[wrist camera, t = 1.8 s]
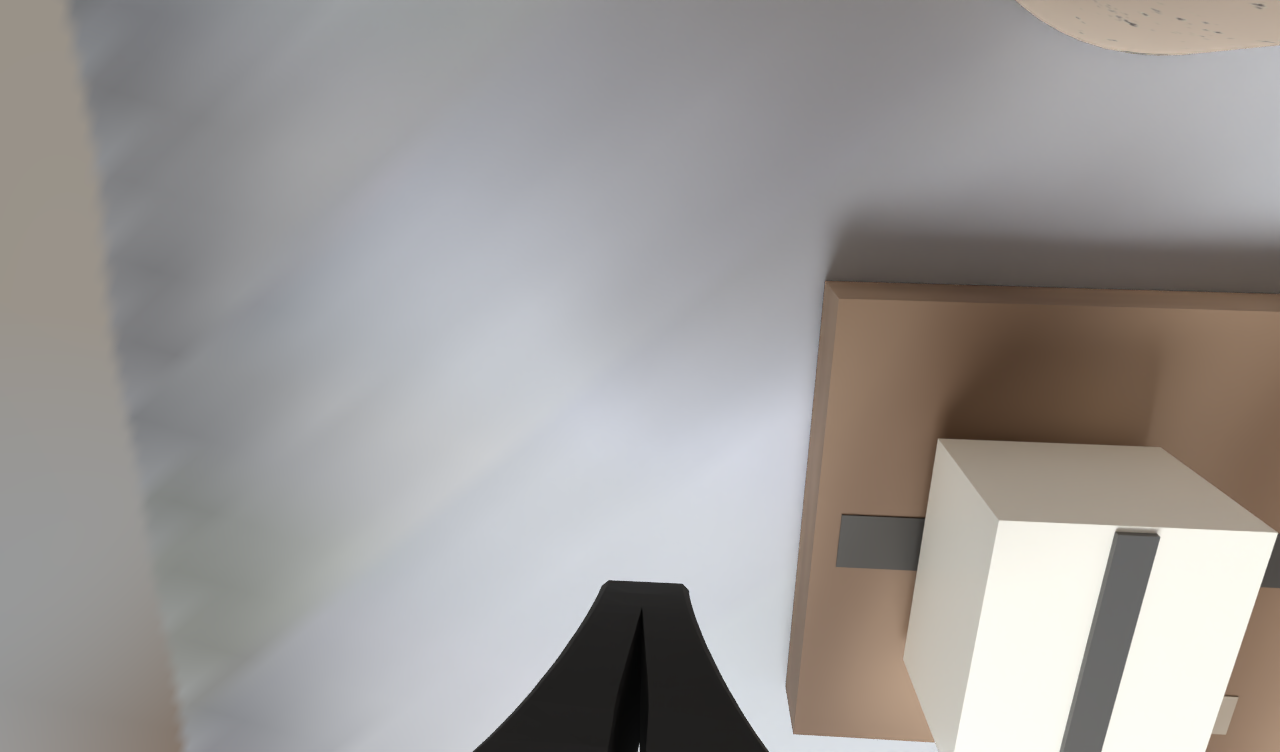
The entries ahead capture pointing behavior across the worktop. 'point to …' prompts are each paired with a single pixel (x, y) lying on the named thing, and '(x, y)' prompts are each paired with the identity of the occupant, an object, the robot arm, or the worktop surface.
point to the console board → (1023, 412)
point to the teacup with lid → (1163, 24)
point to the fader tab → (1078, 598)
